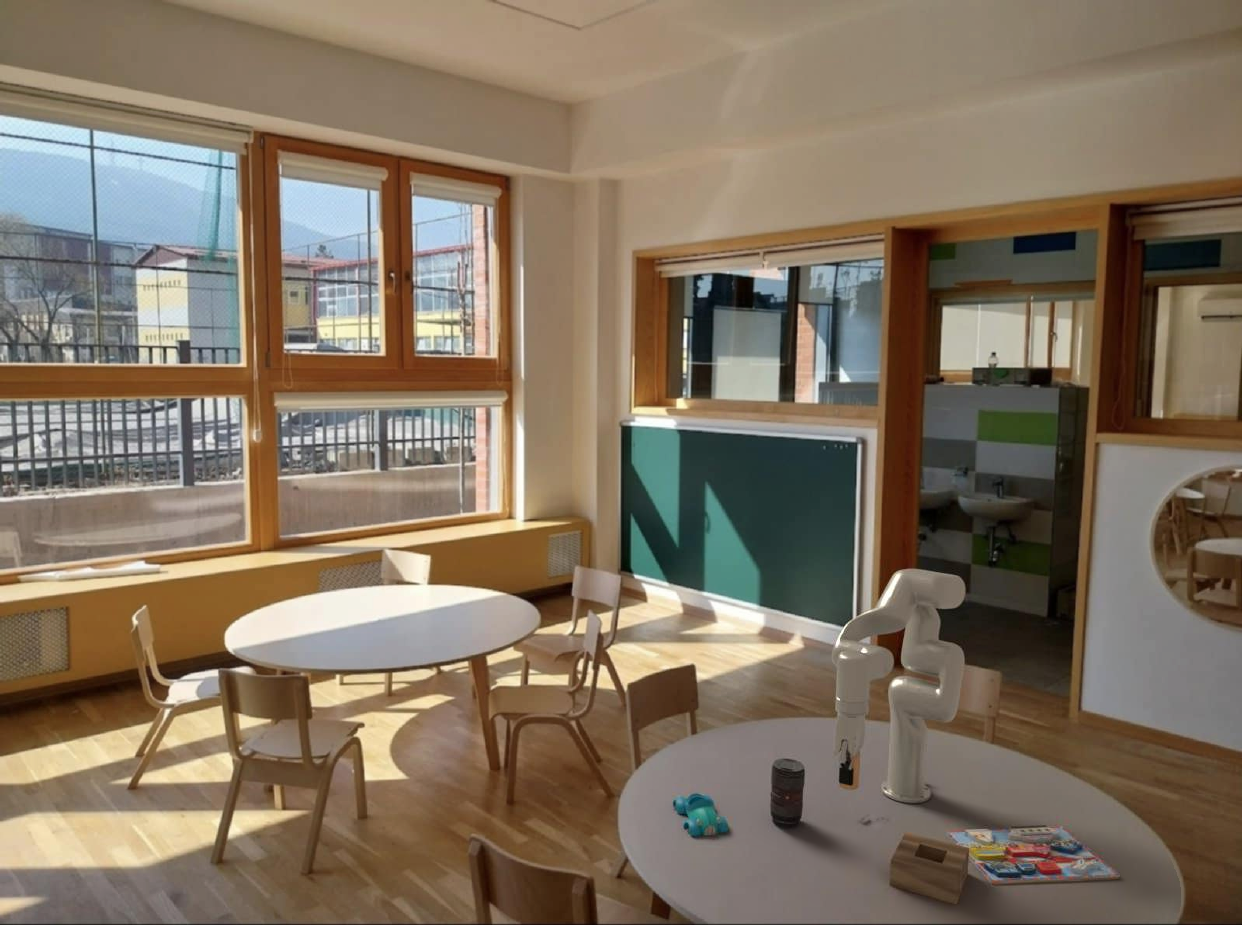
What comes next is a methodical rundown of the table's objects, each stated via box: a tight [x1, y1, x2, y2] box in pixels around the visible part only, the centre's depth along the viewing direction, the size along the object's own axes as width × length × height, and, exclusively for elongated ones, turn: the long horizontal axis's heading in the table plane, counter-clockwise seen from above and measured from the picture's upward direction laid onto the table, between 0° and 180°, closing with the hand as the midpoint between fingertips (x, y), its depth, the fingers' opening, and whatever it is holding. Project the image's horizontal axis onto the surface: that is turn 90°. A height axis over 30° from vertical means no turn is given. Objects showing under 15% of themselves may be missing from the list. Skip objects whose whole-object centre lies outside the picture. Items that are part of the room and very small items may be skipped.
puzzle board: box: [945, 824, 1121, 885], centre depth 217 cm, size 30×23×3 cm
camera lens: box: [769, 757, 806, 829], centre depth 229 cm, size 8×8×15 cm
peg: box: [838, 751, 861, 791], centre depth 217 cm, size 4×4×8 cm
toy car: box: [672, 792, 729, 837], centre depth 231 cm, size 11×18×7 cm, turn 13°
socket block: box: [889, 831, 970, 905], centre depth 205 cm, size 14×14×6 cm
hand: (849, 778), depth 217 cm, fingers closed on peg, 4 cm apart
